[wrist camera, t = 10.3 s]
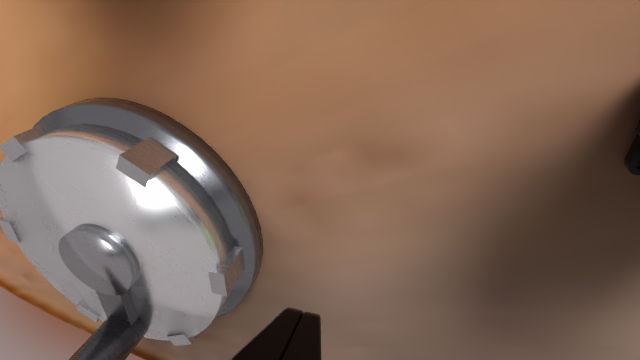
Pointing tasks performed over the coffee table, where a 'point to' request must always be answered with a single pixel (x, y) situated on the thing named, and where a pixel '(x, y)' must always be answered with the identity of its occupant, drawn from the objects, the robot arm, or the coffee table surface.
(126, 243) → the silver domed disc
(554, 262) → the coffee table surface
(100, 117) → the plate
